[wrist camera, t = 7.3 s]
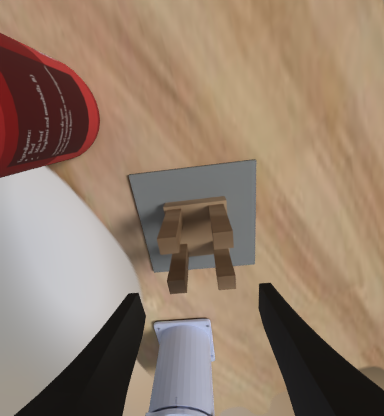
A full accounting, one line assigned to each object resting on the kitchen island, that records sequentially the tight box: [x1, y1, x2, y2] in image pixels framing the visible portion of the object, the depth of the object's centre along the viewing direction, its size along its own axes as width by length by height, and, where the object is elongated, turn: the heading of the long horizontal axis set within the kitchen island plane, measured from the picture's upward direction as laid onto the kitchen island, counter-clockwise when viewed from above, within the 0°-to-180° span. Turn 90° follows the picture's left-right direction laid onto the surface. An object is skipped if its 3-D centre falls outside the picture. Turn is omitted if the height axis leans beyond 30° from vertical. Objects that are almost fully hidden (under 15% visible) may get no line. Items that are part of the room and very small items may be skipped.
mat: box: [129, 159, 256, 273], centre depth 20 cm, size 12×12×1 cm
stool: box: [157, 196, 236, 294], centre depth 17 cm, size 6×6×6 cm
